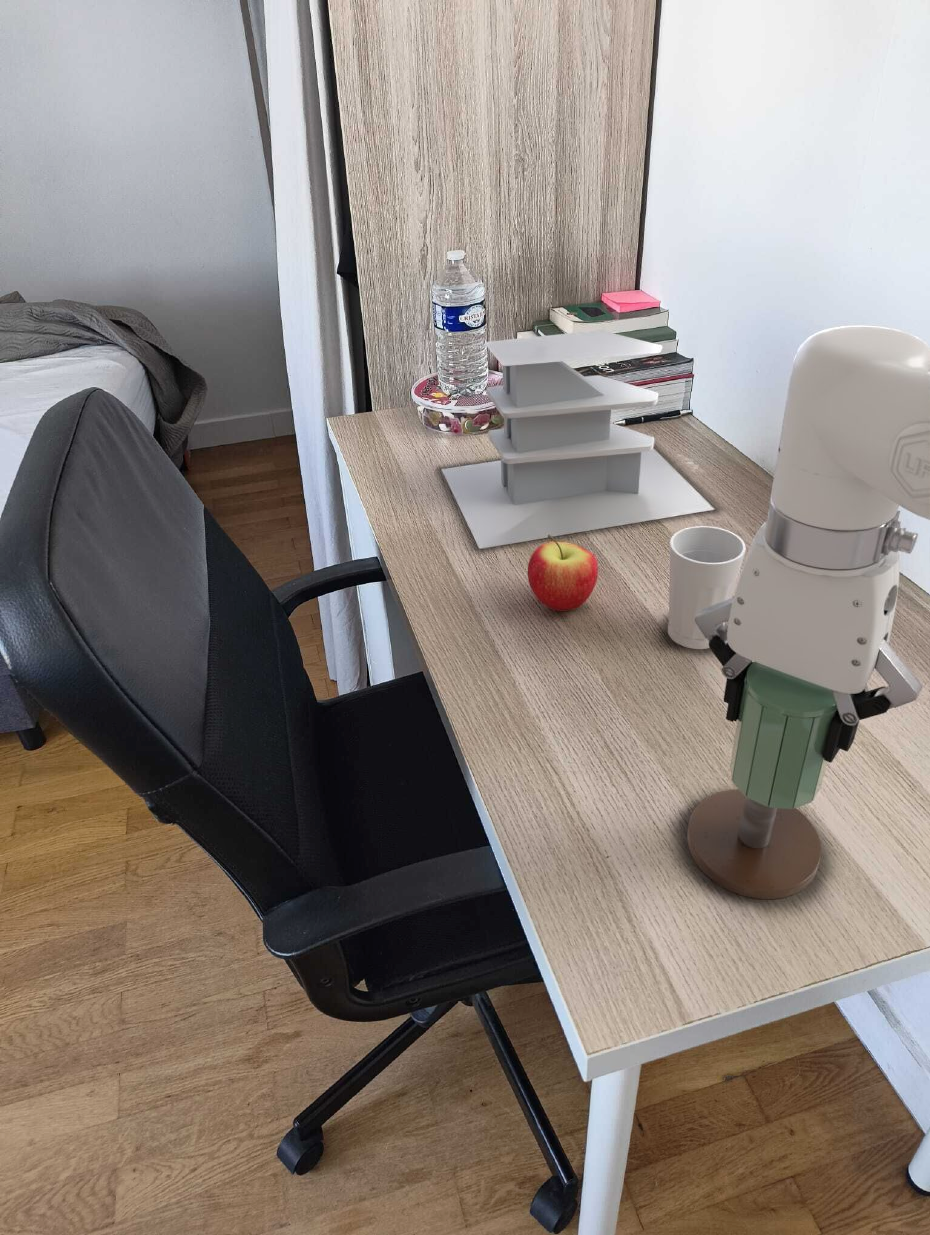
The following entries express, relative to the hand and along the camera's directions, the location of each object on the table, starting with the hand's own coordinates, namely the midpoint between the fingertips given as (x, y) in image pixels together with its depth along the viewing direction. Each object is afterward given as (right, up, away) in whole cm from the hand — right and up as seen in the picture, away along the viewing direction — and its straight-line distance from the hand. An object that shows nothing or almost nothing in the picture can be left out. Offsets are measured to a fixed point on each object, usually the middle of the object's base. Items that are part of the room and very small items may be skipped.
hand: (784, 729), depth 65 cm
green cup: (0, -4, +3) cm, 5 cm away
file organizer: (-9, +28, +64) cm, 71 cm away
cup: (+2, +7, +34) cm, 34 cm away
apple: (-13, +10, +40) cm, 43 cm away
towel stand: (0, -11, +9) cm, 14 cm away
